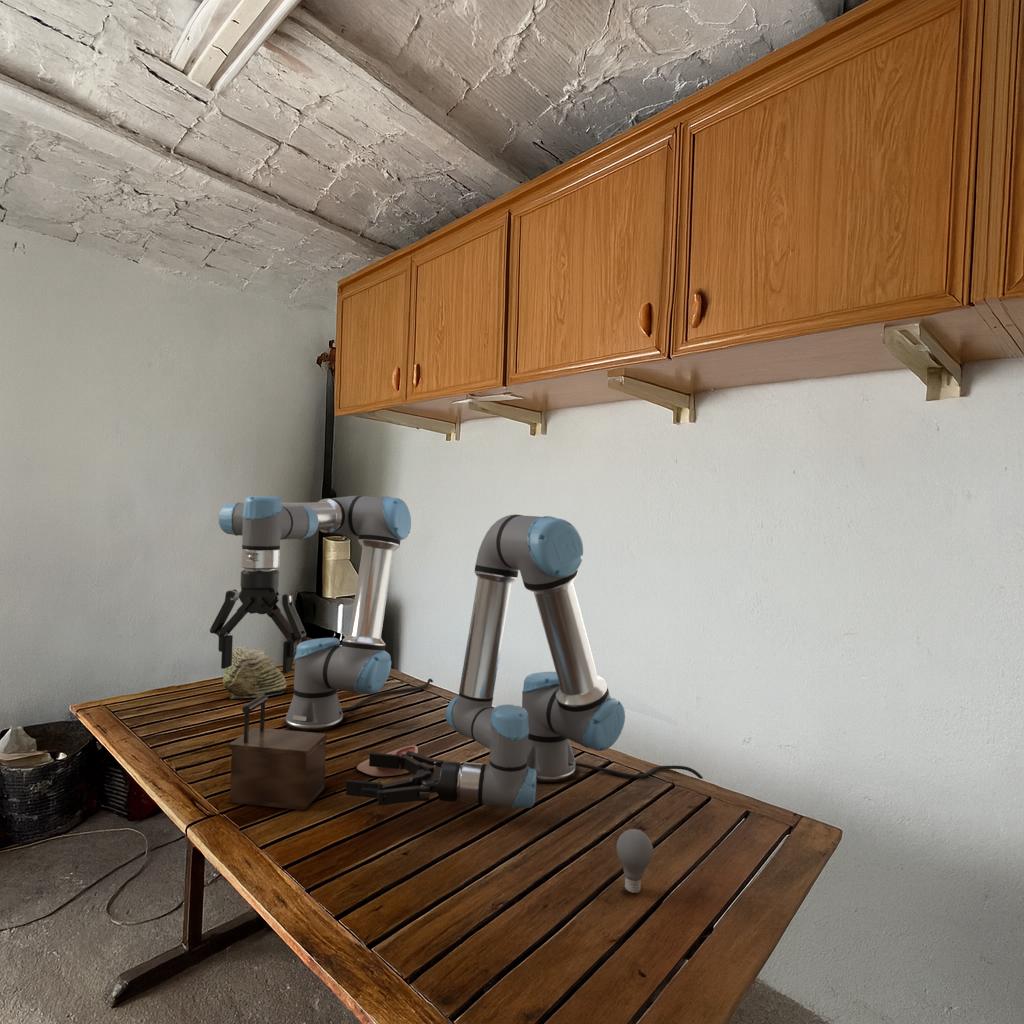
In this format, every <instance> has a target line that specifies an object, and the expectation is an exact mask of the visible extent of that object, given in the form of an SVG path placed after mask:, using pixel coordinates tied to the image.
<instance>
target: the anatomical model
mask: <svg viewBox="0 0 1024 1024" xmlns="http://www.w3.org/2000/svg"><path fill="white" fill-rule="evenodd" d="M406 751H412V752H415V753H418V754H419V748H418V746H417V745H412V744H411V745H407V746H404V747H401V748H400V747H399V748H398V749H394V750H391V751H389V752H387V753H385V754H393V755H400V756H401V754H406ZM411 758H412V757H411ZM356 769H357V771H360V772H362V773H363V774H366V775H369V776H372V777H392V776H399V775H404V774H408V773H410V772H409V771H407V770H405V769H403V770H402V769H401V770H400V765H399V769H394V768H383V767H372V766H369V758H368V759H365V760H364V761H361V762H360V763H359V764H358V765H357V766H356Z"/></svg>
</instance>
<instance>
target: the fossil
mask: <svg viewBox="0 0 1024 1024" xmlns="http://www.w3.org/2000/svg"><path fill="white" fill-rule="evenodd" d="M222 676H223V677H222V685H223V687H224V688H225V690H226V691H228V693H229V698H230V699H250V698H258V697H260V696H262V695H266V696H267V697H271V696H275V695H281V694H284V693H285V691H286V689H287V687H288V686H287V680H286V678H285V676H284V674H283V672H281V669H279V668H278V667H277V665H276V663H275V662H274V660H273V659H272V658H271V657H270V656H269V655H268V654H267V653H266V652H265V650H264V649H263V648H260V647H258V648H251V647H247V646H246V647H245V646H238V647H237V648H236V649H235V650H233V651H232V666H229V667H227V668H225V669H224V671H223V675H222Z"/></svg>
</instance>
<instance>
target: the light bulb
mask: <svg viewBox="0 0 1024 1024" xmlns="http://www.w3.org/2000/svg"><path fill="white" fill-rule="evenodd" d="M615 849H616V854H617V857H618V859H619V861H620V863H621V865H622V867H623V873H624V874H623V875H624V876H625V878H624V888H625V890H627V891H628V892H630V893H634V894H635V893H639V892H640V891H641V889H642V887H641V886H642V879H643V877H644V875H645V871H646V868H647V867H648V866H649V864H650V863H651V861H652V859H653V855H654V847H653V843H652V841H651V838H649V836H648V835H647V834H646V833H645V832H643V831H642V830H641V829H636V828H629V829H627V830H625V831H623V832H622V833H621V834H620V835H619V837H618V839H617V841H616V847H615Z"/></svg>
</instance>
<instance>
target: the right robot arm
mask: <svg viewBox="0 0 1024 1024" xmlns="http://www.w3.org/2000/svg"><path fill="white" fill-rule="evenodd" d="M476 555H477V556H476V562H475V564H474V565H475V566H474V574H475V576H476V577H477V581H476V587H475V593H474V600H473V606H472V612H471V618H470V622H469V623H470V624H469V630H468V636H467V643H466V648H465V653H464V660H463V665H462V673H461V678H460V684H459V690H458V695H457V696H455V697H454V698H452V699H451V700H450V702H449V704H448V705H447V707H446V709H445V720H446V723H447V724H448V726H449V727H450V728H452V729H453V730H454V731H455V732H457V733H458V734H460V736H461V735H462V736H464V737H467V738H469V739H471V740H473V741H475V742H476V743H478V744H479V745H482V746H484V747H485V748H487V749H489V764H488V763H487V764H486V763H479V762H467V761H465V762H463V764H462V763H461V762H460V761H455V760H454V761H453V760H442V759H438V758H437V759H436V758H432V757H429V756H426V755H423V754H421V753H419V752H418V753H415V752H412V751H406V754H401V756H400V755H393V754H386V753H379V752H370V753H369V758H368V759H369V766H372V767H383V768H394V769H399V765H400V770H401V769H402V770H403V769H405V770H407V771H409V772H408V773H410V774H412V775H410V776H409V778H406V779H403V780H399V781H393V782H390V783H385V784H384V783H382V782H381V781H378V782H377V781H366V780H355V779H347V780H346V782H345V783H346V784H345V795H346V796H353V797H363V798H373V799H377V805H378V806H387V805H394V804H403V803H411V802H429V801H430V800H431V799H430V796H431V795H430V794H432V793H433V794H434V793H436V794H437V797H438V800H440V801H441V802H451V803H456V802H458V801H459V802H460V803H463V804H464V803H465V804H471V805H472V806H475V805H485V806H494V807H495V806H496V807H503V808H510V809H531V808H533V807H534V805H535V803H536V796H537V795H536V794H537V783H559V782H564V781H567V780H570V779H571V778H572V777H574V776H575V774H576V768H577V767H580V768H584V769H590V770H594V771H598V772H603V773H608V774H611V775H615V776H619V777H622V778H623V777H624V778H629V779H641V778H642V779H644V778H646V777H649V776H650V775H652V774H653V773H655V772H657V771H661V770H681V771H682V770H683V771H688V772H690V773H692V774H694V775H695V776H696V777H697V778H698V779H700V780H703V779H704V777H703V776H702V775H701V773H699V772H698V770H695V769H693V768H691V767H689V766H687V765H686V766H685V765H658V766H659V767H658V766H654V767H652V768H651V769H650V770H648V771H646V772H644V773H635V774H632V773H625V772H622V771H617V770H613V769H610V768H605V767H601V766H596V765H591V764H586V763H581V762H576V759H575V754H574V751H573V747H572V744H571V741H572V742H574V743H576V744H577V745H580V746H582V747H584V748H586V749H591V750H593V751H597V752H602V751H606V750H608V749H609V748H611V747H612V746H614V744H615V743H616V742H617V741H618V739H619V737H620V736H621V734H622V731H623V729H624V726H625V722H626V710H625V709H626V708H625V706H624V704H623V703H622V702H621V701H620V700H619V699H618V698H615V697H611V695H610V694H611V693H610V691H609V687H608V683H607V681H606V680H605V679H604V677H602V676H600V675H598V672H597V668H596V664H595V660H594V657H593V653H592V649H591V645H590V641H589V638H588V634H587V630H586V626H585V622H584V619H583V615H582V610H581V607H580V603H579V599H578V596H577V592H576V589H575V584H574V581H575V579H577V577H578V574H579V570H578V569H580V566H581V564H582V561H583V559H582V556H584V544H583V539H582V537H581V535H580V532H579V531H578V529H577V528H576V527H575V526H574V525H573V524H572V523H570V522H569V521H568V520H566V519H563V518H557V517H554V516H551V515H544V516H539V515H538V516H537V515H523V514H509V515H505V516H503V517H501V518H499V519H498V520H496V521H495V522H494V523H493V524H492V525H491V526H490V527H489V529H488V530H487V532H486V533H485V535H484V537H483V539H482V541H481V543H480V546H479V549H478V552H477V554H476ZM519 573H520V576H521V580H522V583H523V586H524V588H525V589H526V590H528V591H530V592H532V593H533V595H534V598H535V602H536V604H537V609H538V614H539V616H540V620H541V624H542V627H543V630H544V634H545V638H546V640H547V645H548V649H549V652H550V656H551V660H552V662H553V667H554V670H555V671H539V672H534V673H531V674H529V675H527V676H526V677H524V680H523V687H522V691H521V692H522V694H521V695H522V697H521V706H520V705H515V704H501V705H497V706H495V707H494V708H493V701H494V694H495V688H496V682H497V676H498V668H499V663H500V659H501V658H500V656H501V650H502V644H503V639H504V634H505V627H506V621H507V615H508V610H509V603H510V596H511V590H512V584H513V583H514V582H515V581H517V580H518V577H519ZM411 757H412V758H411Z"/></svg>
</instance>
